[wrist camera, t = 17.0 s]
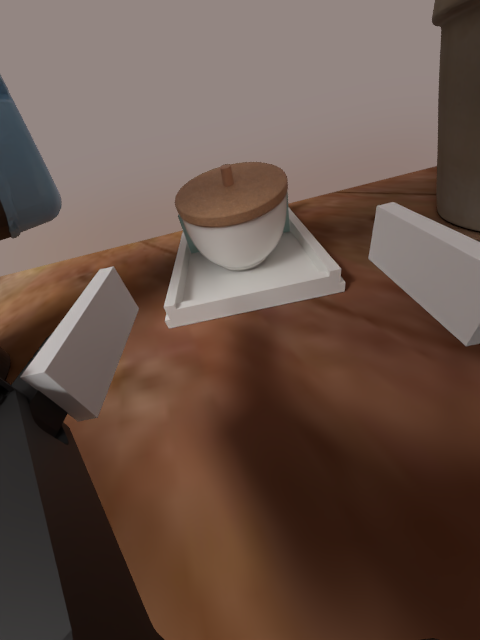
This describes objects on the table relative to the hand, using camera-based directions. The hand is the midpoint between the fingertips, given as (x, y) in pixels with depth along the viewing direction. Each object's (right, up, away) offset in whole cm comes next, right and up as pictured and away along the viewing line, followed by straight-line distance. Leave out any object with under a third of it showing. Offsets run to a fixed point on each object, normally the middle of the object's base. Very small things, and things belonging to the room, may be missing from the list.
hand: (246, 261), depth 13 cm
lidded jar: (0, +5, +16) cm, 17 cm away
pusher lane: (0, +5, +19) cm, 20 cm away
